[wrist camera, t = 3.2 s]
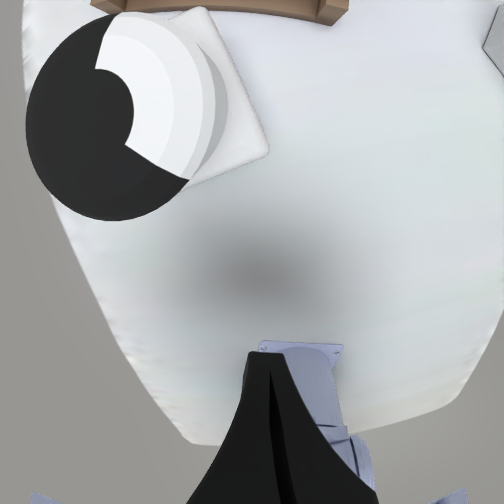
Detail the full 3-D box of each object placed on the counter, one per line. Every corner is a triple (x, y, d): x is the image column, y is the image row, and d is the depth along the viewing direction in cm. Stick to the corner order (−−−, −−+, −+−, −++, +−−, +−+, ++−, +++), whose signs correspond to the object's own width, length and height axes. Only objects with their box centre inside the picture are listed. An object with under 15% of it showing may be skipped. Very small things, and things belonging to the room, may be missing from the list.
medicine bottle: (165, 181, 18) (66, 280, 8) (123, 90, 15) (-19, 94, 5) (266, 138, 17) (285, 188, 6) (222, 39, 14) (171, -57, 3)
